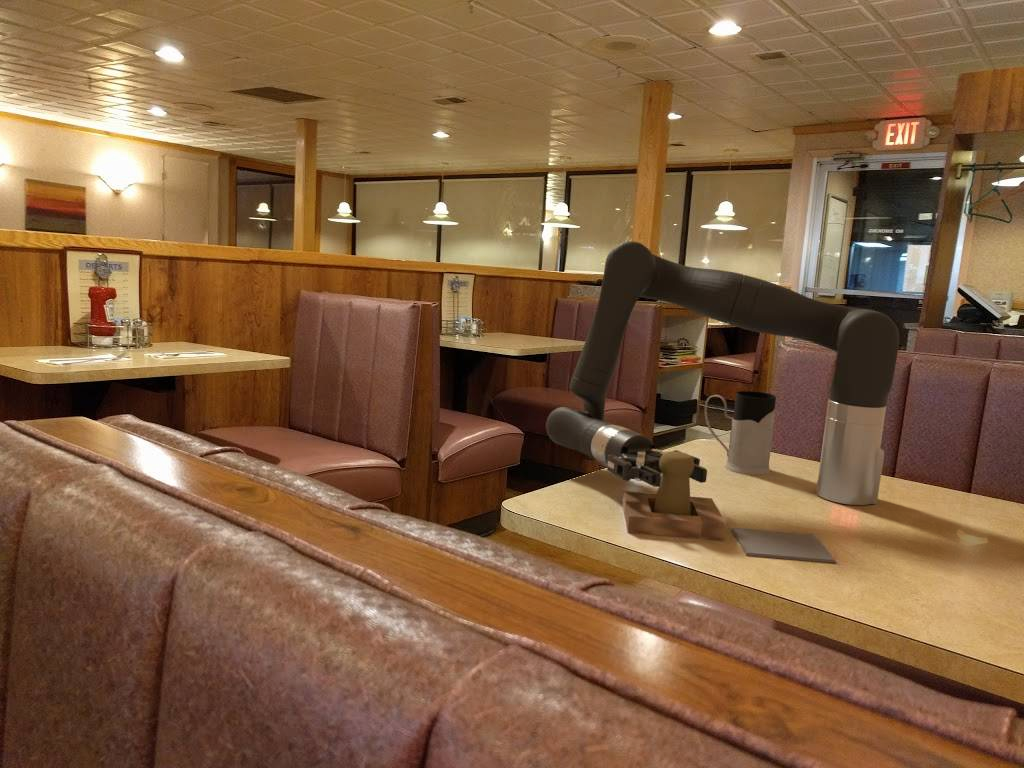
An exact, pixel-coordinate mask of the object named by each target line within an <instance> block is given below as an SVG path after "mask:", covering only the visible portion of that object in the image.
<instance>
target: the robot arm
mask: <svg viewBox="0 0 1024 768" xmlns="http://www.w3.org/2000/svg"><path fill="white" fill-rule="evenodd" d="M604 263H605V264H604V269H603V276H602V282H601V287H600V288H601V289H600V293H599V298H598V301H597V306H596V309H595V313H594V316H593V319H592V323H591V325H590V328H589V330H588V333H587V337H586V339H585V342H584V345H583V347H582V349H581V352H580V355H579V358H578V360H577V364H576V366H575V369H574V372H573V374H572V378H571V381H570V384H569V391H570V392H571V394H573V395H574V396H575V397H577V398H579V399H581V400H582V406H583V408H582V410H579V409H575V408H571V407H568V406H567V407H566V406H560V407H557V408H555V409H554V410H552V411H551V412H550V413H549V415H548V417H547V419H546V422H545V429H546V433H547V435H548V437H549V439H550V441H552V442H553V443H555V444H557V445H560V446H561V447H564V448H566V449H567V448H568V449H571V450H573V451H577V452H579V453H581V454H584V455H586V456H587V457H589V458H591V459H593V460H594V461H596V462H598V463H599V464H600V465H602V466H603V467H605V468H606V469H607V470H606V471H607V472H609V473H611V474H613V475H614V476H616V477H618V478H619V479H621V480H622V481H625V482H628V481H629V482H630V481H631V480H634V481H636V482H644V483H646V484H648V485H650V486H652V487H654V488H657V487H658V488H659V486H660V482H661V475H662V472H661V470H660V467H659V460H660V458H661V456H662V455H663V453H666V452H667V451H666V452H664V451H663V450H662V449H658V448H656V446H655V444H654V442H653V441H652V440H651V439H650V437H648V436H645V435H644V434H641V433H638V432H637V431H634V430H631V429H628V428H626V427H624V426H621V425H615V424H612V423H611V422H608V421H605V420H604V418H605V409H606V408H605V407H606V398H607V393H608V390H609V388H610V386H611V382H612V380H613V377H614V374H615V370H616V368H617V365H618V360H619V357H620V352H621V350H622V344H623V340H624V337H625V333H626V329H627V326H628V322H629V320H630V317H631V316H632V315H631V314H632V312H633V310H634V307H635V305H636V303H637V301H638V299H639V298H644V299H645V298H646V299H651V300H655V301H660V302H667V303H670V304H674V305H677V306H679V307H682V308H684V309H687V310H689V311H691V312H694V313H696V314H699V315H701V316H704V317H707V318H709V319H712V320H715V321H718V322H720V323H723V324H727V325H730V326H733V327H736V328H739V329H743V330H747V331H750V332H756V333H760V334H766V335H771V336H772V335H773V336H777V337H778V336H779V337H786V338H794V339H799V340H803V341H806V342H810V343H813V344H815V345H818V346H821V347H824V348H827V349H829V350H831V351H833V352H836V359H835V366H834V373H833V377H832V380H831V381H832V382H831V383H830V385H829V386H830V387H829V394H828V401H827V408H826V415H825V423H824V430H823V438H822V446H821V452H820V453H821V454H820V461H819V469H818V477H817V481H816V482H817V483H816V495H818V496H819V497H821V498H823V499H825V500H827V501H831V502H835V503H839V504H844V505H850V506H851V505H852V506H853V505H854V506H866V505H877V504H878V499H879V498H878V497H879V492H880V487H881V486H880V485H881V479H882V471H883V465H884V459H885V458H884V457H885V451H884V450H883V449H882V448H881V445H882V440H883V438H882V437H883V431H884V424H885V417H886V411H887V410H886V409H887V404H888V398H889V395H890V392H891V391H892V387H893V383H894V376H895V370H896V364H897V360H898V354H899V346H900V333H899V329H898V327H897V325H896V323H895V321H894V320H892V318H890V317H889V316H888V315H886V314H885V313H882V312H879V311H876V310H872V309H869V308H867V309H866V308H858V307H857V308H856V307H852V306H844V305H839V304H835V303H829V302H825V301H822V300H821V301H820V300H817V299H814V298H811V297H808V296H806V295H803V294H801V293H799V292H796V291H794V290H791V289H790V288H787V287H785V286H782V285H779V284H777V283H774V282H770V281H769V280H768V281H767V280H765V279H761V278H758V277H754V276H751V275H748V274H747V275H746V274H743V273H738V272H735V271H734V272H733V271H728V270H720V269H712V268H704V267H703V268H701V267H692V266H687V265H683V264H680V263H677V262H674V261H671V260H669V259H665V258H664V257H661V256H658V255H656V254H653V253H652V251H651V250H650V249H649V248H648V247H647V246H646V245H644V244H643V243H641V242H638V241H634V240H633V241H632V240H630V241H629V240H627V241H623V242H621V243H619V244H617V245H616V246H614V247H613V248H612V249H611V250H610V251H609V252H608V254H607V257H606V259H605V262H604ZM674 451H676V452H681V451H680V450H677V449H676V450H674ZM689 455H690V456H691V457H692V458H693V460H694V470H693V472H692V474H691V475H690V476H689V479H691V480H693V481H696V482H699V483H701V484H703V483H706V482H707V476H708V470H707V468H706V467H703V466H701V465H700V464H701V459H700V458H698V457H697V456H696V457H695V456H693V455H691V454H689Z"/></svg>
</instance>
